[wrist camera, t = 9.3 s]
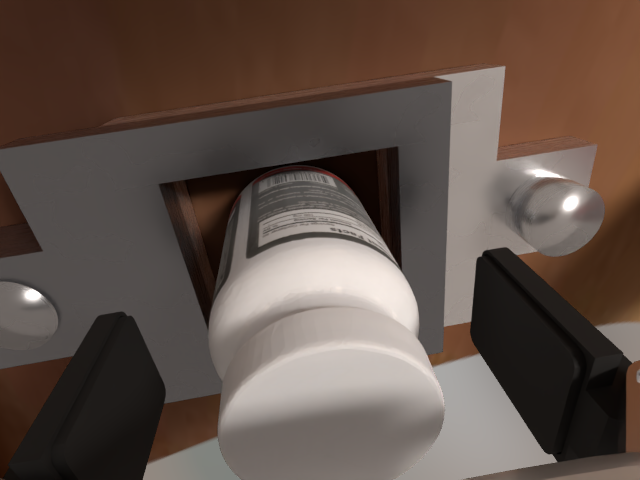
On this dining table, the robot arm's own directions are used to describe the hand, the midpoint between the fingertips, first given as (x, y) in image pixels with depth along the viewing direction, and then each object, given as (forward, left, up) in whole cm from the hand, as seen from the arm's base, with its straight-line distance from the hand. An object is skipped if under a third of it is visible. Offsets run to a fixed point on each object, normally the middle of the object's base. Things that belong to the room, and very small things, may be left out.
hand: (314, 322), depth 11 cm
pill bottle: (0, 0, -7) cm, 7 cm away
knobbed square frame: (0, 0, -7) cm, 7 cm away
